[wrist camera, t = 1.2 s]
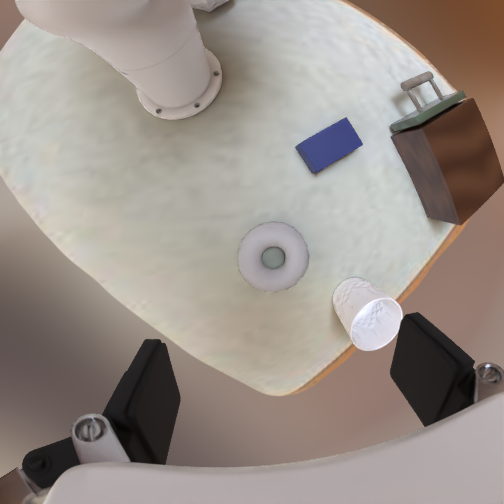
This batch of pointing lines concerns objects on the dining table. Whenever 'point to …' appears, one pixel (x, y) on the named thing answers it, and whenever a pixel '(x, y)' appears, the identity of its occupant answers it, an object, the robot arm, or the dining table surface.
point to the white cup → (366, 313)
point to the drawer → (428, 109)
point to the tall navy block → (329, 145)
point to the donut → (263, 239)
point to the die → (206, 4)
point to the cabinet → (451, 162)
